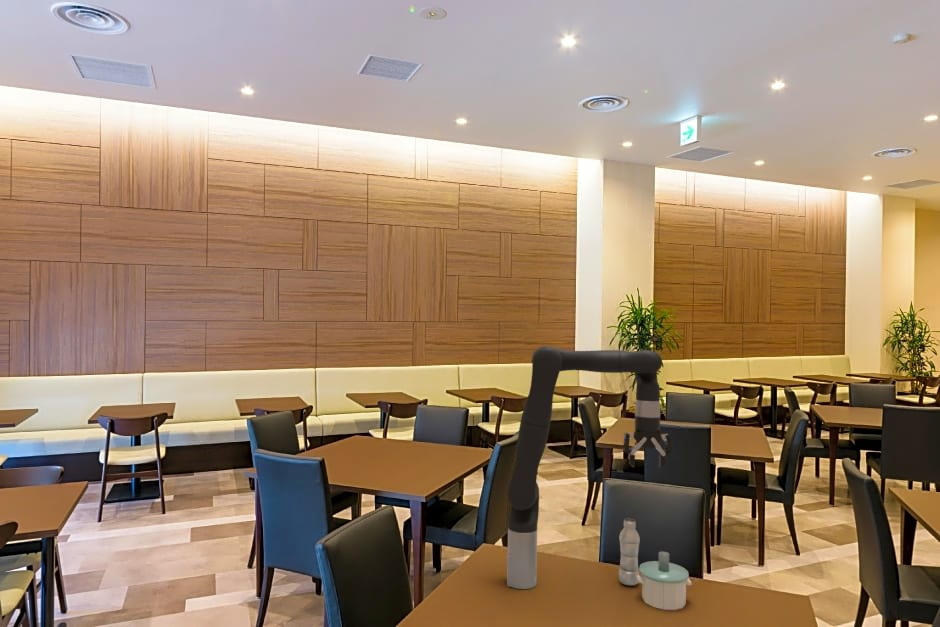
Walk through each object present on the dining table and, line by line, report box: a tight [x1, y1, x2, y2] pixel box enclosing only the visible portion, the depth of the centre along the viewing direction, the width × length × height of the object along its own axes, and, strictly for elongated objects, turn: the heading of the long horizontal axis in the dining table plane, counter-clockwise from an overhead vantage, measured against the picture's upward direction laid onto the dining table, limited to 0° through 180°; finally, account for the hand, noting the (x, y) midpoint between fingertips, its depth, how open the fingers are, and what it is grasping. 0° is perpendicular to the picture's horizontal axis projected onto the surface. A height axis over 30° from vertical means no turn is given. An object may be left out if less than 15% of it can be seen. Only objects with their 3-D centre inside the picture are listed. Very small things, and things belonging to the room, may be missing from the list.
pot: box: [637, 574, 693, 611], centre depth 182 cm, size 15×12×8 cm
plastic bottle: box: [618, 518, 641, 587], centre depth 193 cm, size 6×7×20 cm
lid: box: [638, 550, 690, 583], centre depth 182 cm, size 14×14×6 cm
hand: (646, 467), depth 189 cm, fingers open, 8 cm apart
